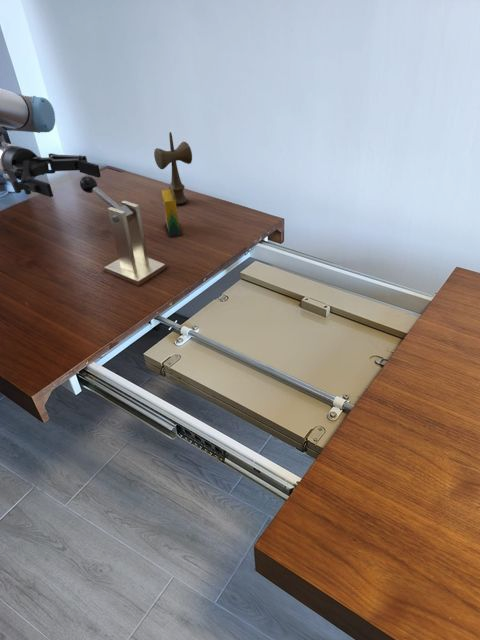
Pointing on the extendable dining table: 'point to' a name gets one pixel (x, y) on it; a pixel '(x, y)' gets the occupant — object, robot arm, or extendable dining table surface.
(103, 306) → the extendable dining table surface
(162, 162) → the kendama
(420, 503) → the extendable dining table surface
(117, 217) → the switch bracket
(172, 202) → the crayon box
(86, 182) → the lever
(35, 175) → the robot arm
